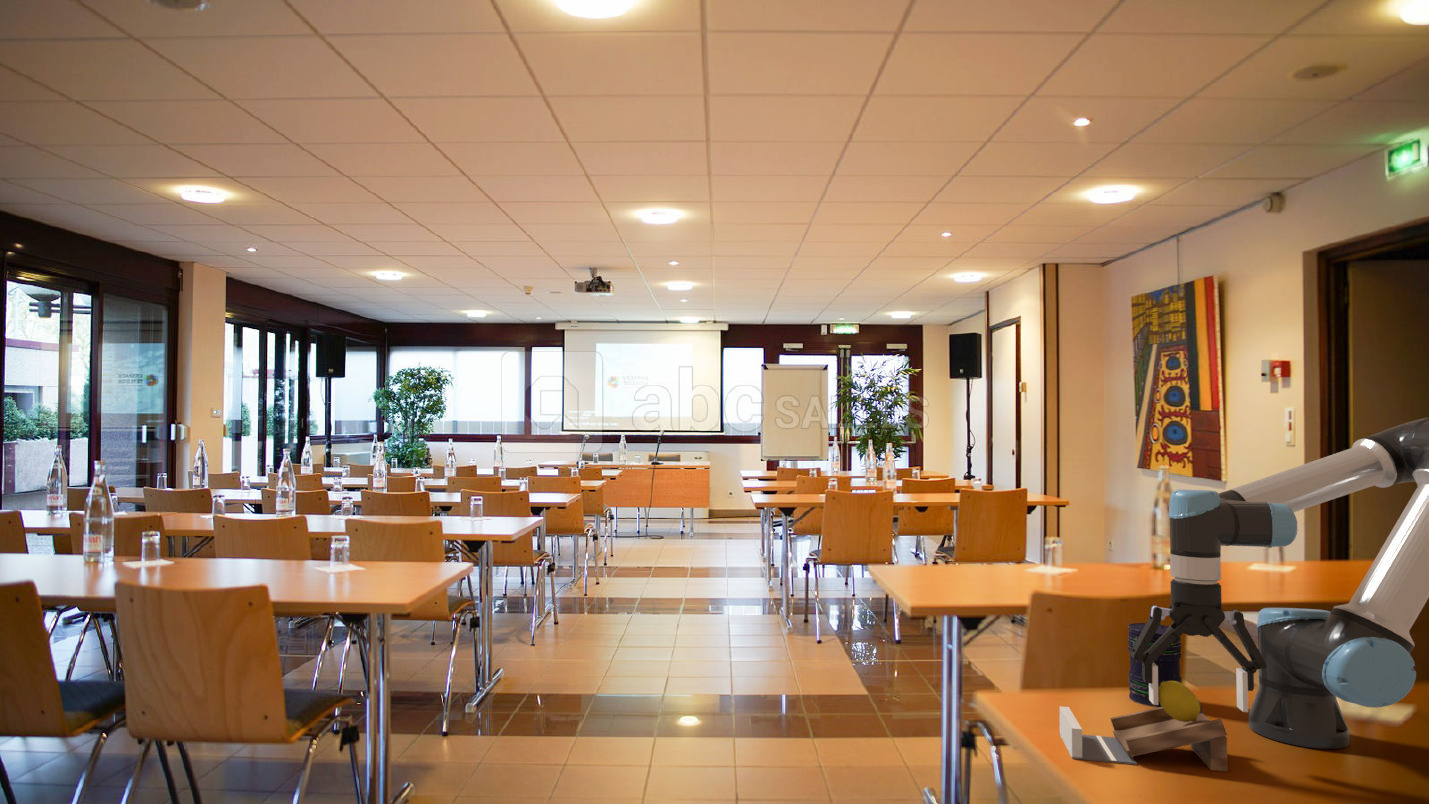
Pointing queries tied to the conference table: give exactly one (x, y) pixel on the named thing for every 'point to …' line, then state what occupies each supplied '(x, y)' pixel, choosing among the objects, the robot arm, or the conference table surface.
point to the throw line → (1106, 748)
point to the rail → (1071, 732)
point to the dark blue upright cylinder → (1165, 662)
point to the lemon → (1178, 701)
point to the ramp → (1172, 735)
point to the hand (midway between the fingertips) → (1197, 706)
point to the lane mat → (1097, 753)
